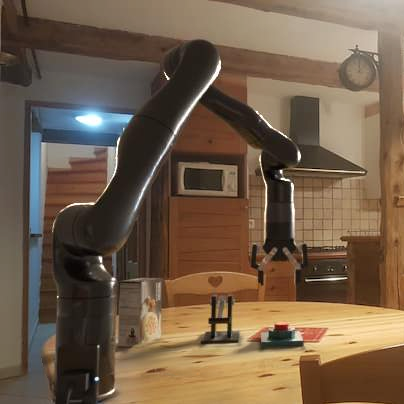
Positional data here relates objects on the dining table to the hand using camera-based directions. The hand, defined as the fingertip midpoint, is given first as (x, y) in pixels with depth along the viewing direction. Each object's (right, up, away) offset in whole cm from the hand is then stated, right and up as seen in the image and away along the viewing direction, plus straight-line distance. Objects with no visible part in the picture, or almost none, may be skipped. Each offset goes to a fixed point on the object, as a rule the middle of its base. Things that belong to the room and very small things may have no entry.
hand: (279, 285), depth 131 cm
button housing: (+1, -15, -1) cm, 15 cm away
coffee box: (-35, -15, 0) cm, 38 cm away
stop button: (+1, -11, -1) cm, 11 cm away
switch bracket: (-15, -15, +3) cm, 22 cm away
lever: (-15, -7, -1) cm, 16 cm away
